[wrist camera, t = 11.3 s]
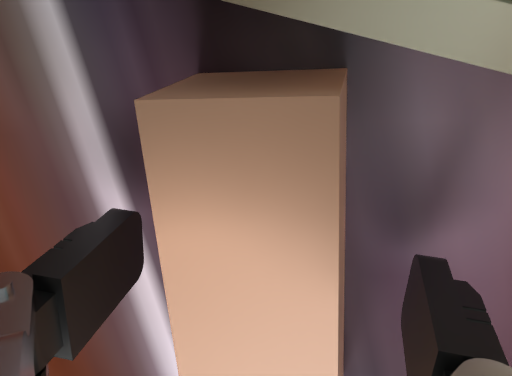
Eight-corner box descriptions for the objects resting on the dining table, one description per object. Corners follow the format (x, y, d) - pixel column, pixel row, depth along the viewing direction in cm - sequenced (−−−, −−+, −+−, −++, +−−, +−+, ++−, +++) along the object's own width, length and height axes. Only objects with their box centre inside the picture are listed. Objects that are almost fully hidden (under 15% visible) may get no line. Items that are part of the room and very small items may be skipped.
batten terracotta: (201, 72, 12) (133, 100, 9) (347, 66, 12) (340, 95, 8) (230, 355, 16) (192, 457, 12) (343, 368, 15) (337, 482, 12)
